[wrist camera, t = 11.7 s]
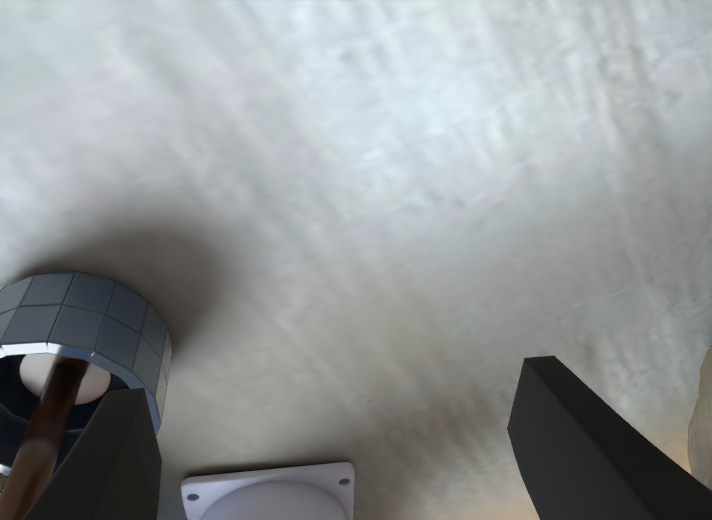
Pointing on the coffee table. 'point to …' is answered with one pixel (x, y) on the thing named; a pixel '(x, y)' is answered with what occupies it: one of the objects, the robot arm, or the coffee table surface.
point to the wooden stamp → (47, 423)
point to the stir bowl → (77, 347)
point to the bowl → (702, 428)
